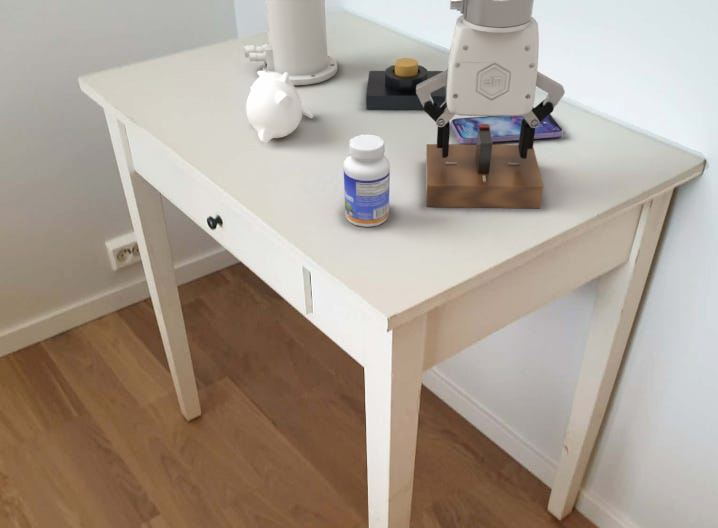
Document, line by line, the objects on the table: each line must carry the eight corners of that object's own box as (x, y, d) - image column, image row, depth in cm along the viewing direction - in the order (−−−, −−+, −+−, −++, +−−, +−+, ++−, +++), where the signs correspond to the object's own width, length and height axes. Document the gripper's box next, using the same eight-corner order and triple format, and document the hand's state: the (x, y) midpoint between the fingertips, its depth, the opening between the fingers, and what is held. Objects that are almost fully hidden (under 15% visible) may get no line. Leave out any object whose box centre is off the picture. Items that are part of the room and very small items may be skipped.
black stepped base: (366, 109, 112) (365, 83, 109) (369, 84, 119) (369, 59, 116) (444, 110, 111) (446, 84, 108) (443, 84, 118) (444, 59, 116)
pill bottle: (344, 206, 91) (340, 132, 84) (387, 203, 91) (387, 129, 84) (346, 229, 87) (343, 154, 80) (391, 227, 87) (392, 151, 80)
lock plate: (426, 206, 90) (427, 184, 88) (425, 164, 98) (426, 142, 96) (540, 208, 90) (543, 185, 87) (530, 165, 98) (533, 143, 96)
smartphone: (449, 118, 107) (548, 111, 108) (449, 124, 107) (547, 117, 109) (461, 139, 101) (565, 131, 103) (460, 146, 102) (564, 138, 103)
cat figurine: (260, 49, 105) (263, 78, 96) (324, 84, 110) (333, 115, 101) (235, 102, 109) (235, 134, 100) (297, 133, 114) (303, 167, 105)
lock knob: (489, 173, 90) (492, 141, 87) (477, 173, 90) (480, 141, 87) (486, 154, 94) (489, 123, 91) (475, 154, 94) (478, 123, 91)
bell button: (394, 78, 111) (394, 66, 110) (394, 69, 114) (395, 57, 113) (417, 78, 111) (418, 66, 110) (417, 69, 114) (418, 58, 113)
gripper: (418, 18, 77) (413, 166, 89) (583, 19, 76) (557, 168, 88) (418, -3, 83) (414, 139, 94) (572, -3, 82) (549, 140, 93)
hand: (483, 153), depth 91 cm, fingers open, 9 cm apart
